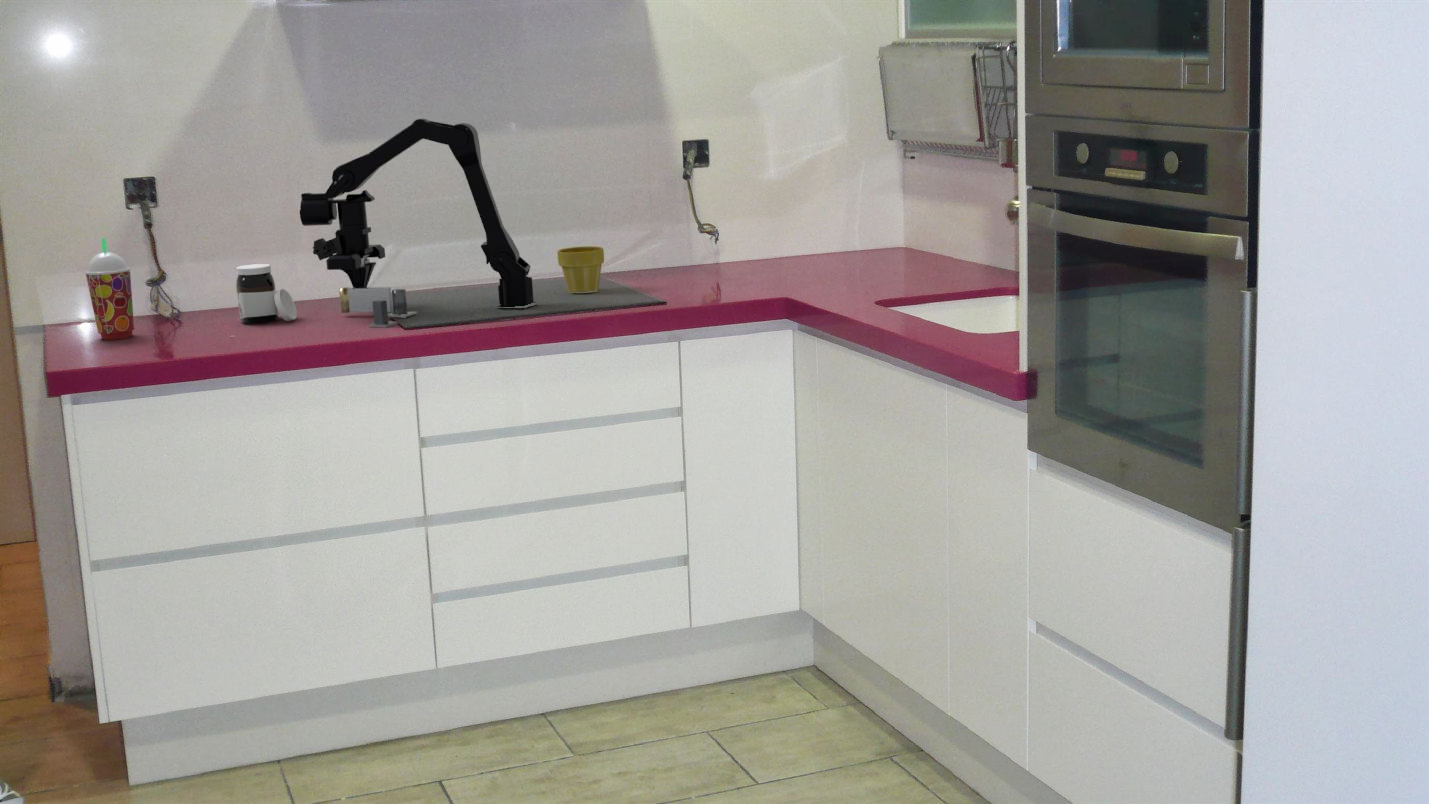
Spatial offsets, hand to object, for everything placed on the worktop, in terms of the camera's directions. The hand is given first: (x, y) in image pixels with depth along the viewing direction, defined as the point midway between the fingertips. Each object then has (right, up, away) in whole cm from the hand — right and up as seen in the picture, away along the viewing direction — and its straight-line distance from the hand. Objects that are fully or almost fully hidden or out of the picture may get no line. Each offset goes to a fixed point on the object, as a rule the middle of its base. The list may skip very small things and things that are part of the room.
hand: (360, 297), depth 300 cm
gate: (+2, -3, -3) cm, 5 cm away
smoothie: (-45, -9, -16) cm, 49 cm away
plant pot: (+46, +2, +18) cm, 49 cm away
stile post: (+8, -7, -14) cm, 17 cm away
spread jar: (-18, -5, -3) cm, 19 cm away
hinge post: (+9, -4, -4) cm, 11 cm away
